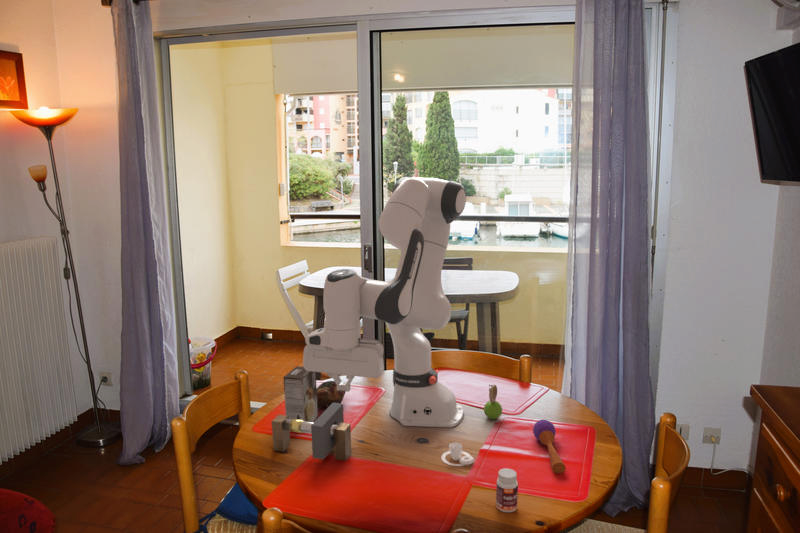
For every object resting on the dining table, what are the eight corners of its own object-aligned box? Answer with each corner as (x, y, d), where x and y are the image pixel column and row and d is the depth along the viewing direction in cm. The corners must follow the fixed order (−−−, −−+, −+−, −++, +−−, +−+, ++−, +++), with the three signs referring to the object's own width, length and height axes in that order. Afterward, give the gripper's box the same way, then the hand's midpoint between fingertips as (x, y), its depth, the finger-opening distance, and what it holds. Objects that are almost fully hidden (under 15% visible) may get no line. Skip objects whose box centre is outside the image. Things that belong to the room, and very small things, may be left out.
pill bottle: (504, 515, 129) (504, 480, 128) (491, 503, 133) (492, 470, 132) (521, 509, 131) (522, 475, 130) (509, 498, 135) (509, 465, 134)
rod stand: (351, 453, 156) (350, 423, 155) (345, 460, 153) (344, 430, 151) (280, 443, 162) (278, 414, 161) (273, 450, 159) (271, 420, 157)
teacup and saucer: (478, 466, 150) (478, 451, 149) (448, 471, 148) (448, 456, 147) (464, 450, 158) (464, 436, 157) (437, 454, 156) (436, 440, 155)
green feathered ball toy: (480, 421, 173) (481, 383, 171) (486, 413, 179) (486, 375, 177) (499, 424, 171) (499, 386, 169) (503, 415, 177) (504, 378, 175)
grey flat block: (344, 434, 162) (343, 403, 160) (323, 459, 149) (322, 426, 147) (334, 432, 163) (332, 402, 161) (312, 457, 149) (311, 425, 148)
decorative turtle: (307, 414, 180) (305, 389, 179) (324, 397, 194) (323, 374, 193) (336, 415, 177) (335, 390, 176) (352, 398, 192) (350, 375, 191)
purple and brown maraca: (545, 459, 145) (529, 417, 164) (548, 480, 146) (532, 436, 166) (569, 456, 144) (551, 413, 163) (572, 476, 146) (554, 432, 165)
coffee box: (299, 414, 180) (296, 365, 176) (318, 417, 178) (316, 367, 175) (285, 428, 171) (282, 376, 168) (306, 430, 169) (303, 378, 166)
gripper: (387, 336, 143) (387, 390, 145) (310, 329, 148) (311, 381, 151) (379, 344, 137) (379, 400, 139) (299, 337, 142) (301, 390, 145)
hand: (343, 390), depth 145 cm, fingers closed
